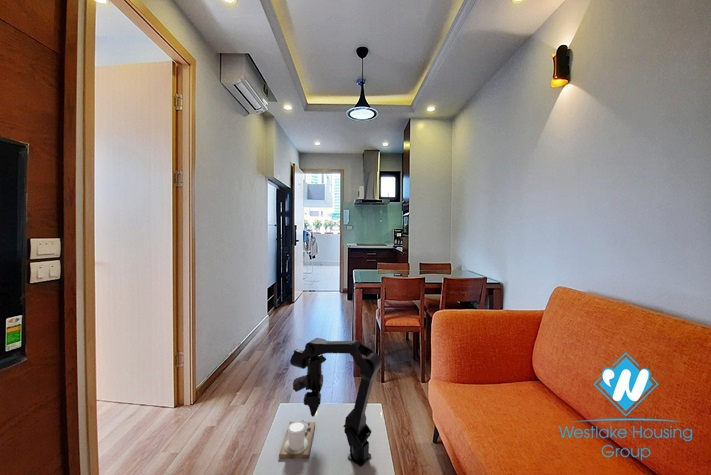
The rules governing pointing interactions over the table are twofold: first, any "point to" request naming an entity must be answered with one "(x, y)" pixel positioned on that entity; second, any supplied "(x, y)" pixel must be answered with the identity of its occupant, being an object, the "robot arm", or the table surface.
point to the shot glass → (296, 435)
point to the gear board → (305, 450)
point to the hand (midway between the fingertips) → (314, 409)
